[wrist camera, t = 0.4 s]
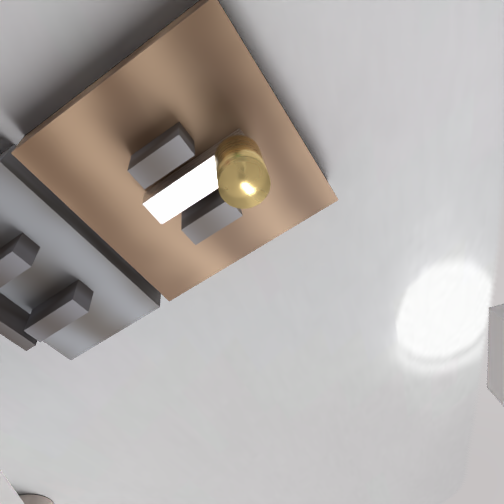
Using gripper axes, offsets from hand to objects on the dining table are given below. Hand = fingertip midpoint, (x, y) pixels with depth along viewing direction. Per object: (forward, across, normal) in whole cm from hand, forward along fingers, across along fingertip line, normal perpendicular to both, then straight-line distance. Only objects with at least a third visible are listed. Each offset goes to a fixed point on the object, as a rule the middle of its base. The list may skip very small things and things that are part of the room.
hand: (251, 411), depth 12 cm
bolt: (+22, 0, +1) cm, 22 cm away
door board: (+26, -6, -1) cm, 26 cm away
